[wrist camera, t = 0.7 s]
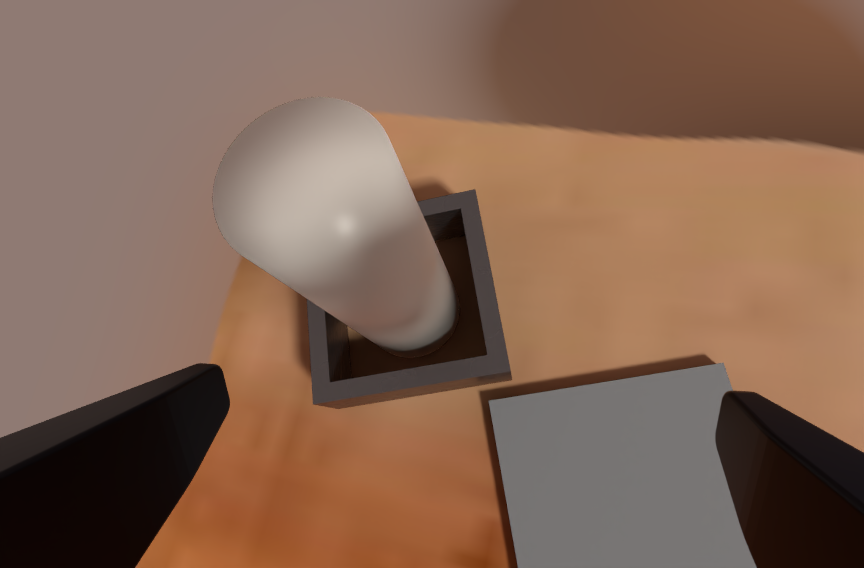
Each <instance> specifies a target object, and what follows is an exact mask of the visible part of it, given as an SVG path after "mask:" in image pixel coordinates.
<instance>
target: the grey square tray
mask: <svg viewBox="0 0 864 568" xmlns="http://www.w3.org/2000/svg"><path fill="white" fill-rule="evenodd" d="M417 203H418V205H419V207H420V210H421V212H422V214H423V217H424V219H425V221H426V223H427V226H428V228H429V230H430V232H431V235H432V237H433V239H434V241H438V240H443V239H448V238H453V237H458V236H463V235H466V239H467V245H468V250H469V256H470V261H471V267H472V273H473V278H474V284H475V289H476V295H477V300H478V306H479V311H480V317H481V322H482V328H483V333H484V339H485V344H486V350H487V355H485V356H479V357H473V358H468V359H462V360H456V361H450V362H444V363H439V364H433V365H427V366H421V367H416V368H410V369H404V370H398V371H393V372H387V373H381V374H375V375H369V376H364V377H358V378H352V376H351V364H350V353H349V341H348V330H347V325H346V324H344V323H343V322H341V321H340V320H338V319H337V318H335V317H334V316H332V315H331V314H329V313H328V312H326V311H325V310H323V309H322V308H320V307H319V306H317V305H316V304H314V303H313V302H311V301H310V300H308V299H307V311H308V327H309V344H310V360H311V377H312V394H313V404H314V405H319V406H325V407H330V408H336V409H341V408H347V407H353V406H359V405H365V404H371V403H377V402H383V401H389V400H395V399H401V398H407V397H413V396H419V395H425V394H431V393H437V392H443V391H449V390H455V389H461V388H467V387H473V386H479V385H485V384H491V383H497V382H503V381H509V380H512V376H511V370H510V365H509V360H508V355H507V350H506V345H505V340H504V334H503V329H502V324H501V319H500V314H499V309H498V304H497V299H496V293H495V288H494V283H493V278H492V273H491V268H490V263H489V257H488V252H487V247H486V242H485V237H484V232H483V227H482V222H481V216H480V211H479V206H478V201H477V196H476V191H475V189H474V190H469V191H465V192H460V193H456V194H451V195H446V196H442V197H437V198H432V199H428V200H423V201H418V202H417Z"/></svg>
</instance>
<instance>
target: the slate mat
mask: <svg viewBox="0 0 864 568" xmlns="http://www.w3.org/2000/svg"><path fill="white" fill-rule="evenodd" d="M727 391H733V390H732V387H731V384H730V381H729V378H728V375H727V372H726V369H725V366H724V363H719V364H713V365H706V366H700V367H694V368H688V369H682V370H675V371H669V372H663V373H657V374H651V375H645V376H638V377H632V378H626V379H620V380H614V381H608V382H601V383H595V384H589V385H583V386H577V387H571V388H564V389H558V390H552V391H546V392H540V393H534V394H527V395H521V396H515V397H509V398H503V399H496V400H490V401H489V406H490V412H491V417H492V423H493V429H494V434H495V440H496V446H497V451H498V457H499V463H500V468H501V474H502V480H503V485H504V491H505V497H506V502H507V508H508V514H509V519H510V525H511V531H512V536H513V542H514V548H515V553H516V559H517V565H518V568H757V567H756V565H755V563H754V560H753V558H752V556H751V553H750V551H749V549H748V546H747V544H746V541H745V539H744V536H743V533H742V530H741V527H740V524H739V521H738V517H737V514H736V511H735V507H734V504H733V501H732V498H731V494H730V491H729V488H728V484H727V481H726V478H725V474H724V471H723V468H722V464H721V461H720V458H719V454H718V451H717V448H716V442H715V432H716V427H717V421H718V416H719V411H720V406H721V401H722V397H723V395H724V394H725V393H726V392H727Z"/></svg>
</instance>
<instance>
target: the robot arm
mask: <svg viewBox="0 0 864 568" xmlns="http://www.w3.org/2000/svg"><path fill="white" fill-rule="evenodd" d="M229 406H230V399H229V395H228V391H227V387H226V383H225V379H224V375H223V371H222V369H221V368H220V366H218V365H216V364H203V363H200V364H195V365H192V366H190V367H187V368H185V369H182V370H179V371H176V372H174V373H171V374H168V375H166V376H163V377H160V378H158V379H155V380H153V381H150V382H147V383H144V384H142V385H139V386H137V387H134V388H131V389H129V390H126V391H123V392H121V393H118V394H115V395H113V396H110V397H107V398H105V399H102V400H100V401H97V402H94V403H92V404H89V405H86V406H84V407H81V408H78V409H76V410H73V411H70V412H68V413H65V414H62V415H60V416H57V417H55V418H52V419H49V420H46V421H44V422H41V423H39V424H36V425H33V426H31V427H28V428H25V429H23V430H20V431H17V432H15V433H12V434H9V435H7V436H4V437H1V438H0V568H135V567H136V565H137V564H138V562H139V561H140V559H141V558H142V556H143V555H144V553H145V552H146V550H147V549H148V547H149V546H150V544H151V543H152V541H153V540H154V538H155V536H156V535H157V533H158V532H159V530H160V529H161V527H162V526H163V524H164V523H165V521H166V520H167V518H168V517H169V515H170V514H171V512H172V510H173V509H174V507H175V506H176V504H177V503H178V501H179V500H180V498H181V497H182V495H183V494H184V492H185V491H186V489H187V487H188V486H189V484H190V483H191V481H192V479H193V477H194V476H195V474H196V472H197V470H198V468H199V467H200V465H201V463H202V461H203V459H204V457H205V455H206V453H207V451H208V449H209V448H210V446H211V444H212V442H213V440H214V438H215V436H216V434H217V432H218V431H219V429H220V427H221V425H222V423H223V421H224V419H225V417H226V415H227V413H228V411H229ZM715 442H716V448H717V451H718V454H719V458H720V461H721V464H722V468H723V471H724V474H725V478H726V481H727V484H728V488H729V491H730V494H731V498H732V501H733V504H734V507H735V511H736V514H737V517H738V521H739V524H740V527H741V530H742V533H743V536H744V539H745V541H746V544H747V546H748V549H749V551H750V553H751V556H752V558H753V560H754V563H755V565H756V567H757V568H864V453H863V452H862V451H860V450H858V449H856V448H854V447H853V446H851V445H849V444H847V443H845V442H844V441H842V440H840V439H838V438H836V437H835V436H833V435H831V434H829V433H827V432H826V431H824V430H822V429H820V428H818V427H817V426H815V425H813V424H811V423H809V422H808V421H806V420H804V419H802V418H800V417H799V416H797V415H795V414H793V413H791V412H790V411H788V410H786V409H784V408H782V407H781V406H779V405H777V404H775V403H773V402H772V401H770V400H768V399H766V398H765V397H763V396H761V395H759V394H757V393H755V392H749V391H727V392H726V393H725V394H724V395H723V397H722V401H721V406H720V411H719V416H718V421H717V427H716V432H715Z"/></svg>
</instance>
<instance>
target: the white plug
mask: <svg viewBox="0 0 864 568" xmlns="http://www.w3.org/2000/svg"><path fill="white" fill-rule="evenodd" d="M213 210H214V215H215V219H216V222H217V225H218V227H219V230H220V232H221V233H222V235H223V237H224V239H225V240H226V241H227V242H228V244H229V245H230V246H231V247H232V248H233V249H234V250H235V251H236V252H238V253H239V254H240V255H242V256H243V257H245V258H246V259H248V260H249V261H251V262H252V263H254V264H255V265H257V266H258V267H260V268H261V269H263V270H264V271H266V272H267V273H269V274H270V275H272V276H273V277H275V278H276V279H278V280H279V281H281V282H282V283H284V284H285V285H287V286H288V287H290V288H292V289H293V290H295V291H296V292H298V293H299V294H301V295H302V296H304V297H305V298H307V299H308V300H310V301H311V302H313V303H314V304H316V305H317V306H319V307H320V308H322V309H323V310H325V311H326V312H328V313H329V314H331V315H332V316H334V317H335V318H337V319H338V320H340V321H341V322H343V323H344V324H346V325H347V326H349V327H350V328H352V329H353V330H355V331H356V332H358V333H359V334H361V335H363V336H364V337H366V338H367V339H369V340H370V341H372V342H373V343H375V344H376V345H378V346H379V347H381V348H382V349H384V350H385V351H387V352H388V353H391V354H393V355H396V356H399V357H404V358H415V357H421V356H425V355H428V354H430V353H432V352H434V351H436V350H437V349H439V348H440V347H441V346H443V345H444V344H445V343H446V342H447V341H448V339H449V338H450V337H451V335H452V334H453V332H454V330H455V328H456V326H457V323H458V320H459V314H460V303H459V298H458V294H457V292H456V289H455V287H454V285H453V282H452V280H451V278H450V275H449V273H448V271H447V269H446V266H445V264H444V262H443V260H442V257H441V255H440V253H439V251H438V248H437V246H436V244H435V241H434V239H433V237H432V235H431V232H430V230H429V228H428V226H427V223H426V221H425V219H424V217H423V214H422V212H421V210H420V207H419V205H418V203H417V201H416V198H415V196H414V194H413V192H412V189H411V187H410V185H409V183H408V180H407V178H406V176H405V173H404V171H403V169H402V167H401V164H400V162H399V160H398V158H397V155H396V153H395V151H394V149H393V146H392V144H391V142H390V139H389V137H388V135H387V133H386V132H385V130H384V128H383V127H382V126H381V124H380V123H379V122H378V121H377V119H376V118H374V117H373V116H372V115H371V114H370V113H369V112H367V111H366V110H364V109H363V108H361V107H360V106H358V105H356V104H353V103H351V102H348V101H345V100H342V99H337V98H330V97H311V98H304V99H298V100H294V101H291V102H288V103H285V104H282V105H280V106H278V107H275V108H274V109H272V110H270V111H268V112H266V113H264V114H263V115H261V116H260V117H258V118H257V119H256V120H254V121H253V122H252V123H251V124H250V125H248V126H247V127H246V128H245V129H244V130H243V131H242V132H241V133H240V134H239V135H238V136H237V138H236V139H235V140H234V142H233V143H232V144H231V145H230V147H229V148H228V150H227V152H226V153H225V155H224V157H223V159H222V161H221V163H220V165H219V168H218V171H217V174H216V177H215V182H214V186H213Z"/></svg>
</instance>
